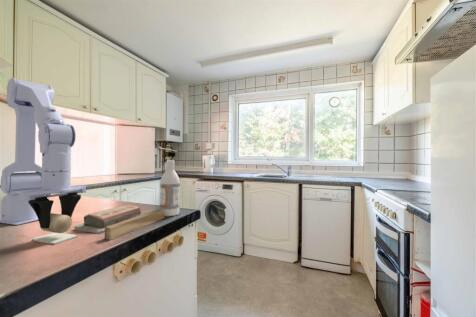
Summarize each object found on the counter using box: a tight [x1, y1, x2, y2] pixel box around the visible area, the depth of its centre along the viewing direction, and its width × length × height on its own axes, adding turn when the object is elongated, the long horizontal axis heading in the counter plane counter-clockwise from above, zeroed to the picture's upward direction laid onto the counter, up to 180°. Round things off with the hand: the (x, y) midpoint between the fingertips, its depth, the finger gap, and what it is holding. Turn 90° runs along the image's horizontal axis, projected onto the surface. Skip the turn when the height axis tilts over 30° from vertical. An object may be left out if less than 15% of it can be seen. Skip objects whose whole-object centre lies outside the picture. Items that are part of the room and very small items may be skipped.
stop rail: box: [104, 208, 165, 241], centre depth 68 cm, size 2×22×3 cm, turn 162°
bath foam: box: [159, 159, 181, 217], centre depth 84 cm, size 7×7×20 cm
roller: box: [39, 212, 73, 233], centre depth 57 cm, size 5×4×4 cm
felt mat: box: [31, 232, 79, 245], centre depth 57 cm, size 8×6×1 cm
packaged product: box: [74, 204, 142, 235], centre depth 72 cm, size 18×5×10 cm
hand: (55, 224), depth 57 cm, fingers closed on roller, 4 cm apart
